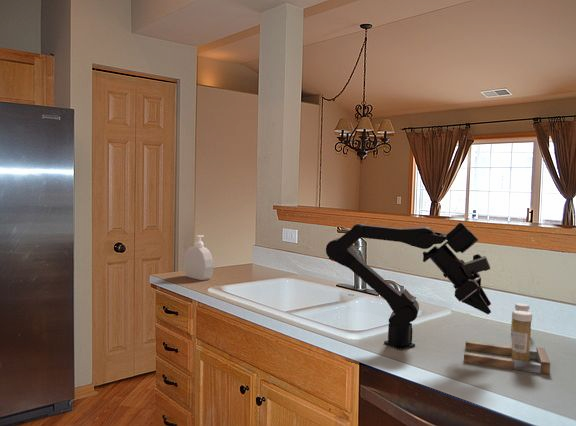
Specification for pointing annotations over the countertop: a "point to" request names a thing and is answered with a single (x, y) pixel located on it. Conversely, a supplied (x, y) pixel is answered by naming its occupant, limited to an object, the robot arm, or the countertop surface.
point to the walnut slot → (539, 354)
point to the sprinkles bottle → (521, 335)
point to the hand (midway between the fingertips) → (489, 309)
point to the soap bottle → (198, 261)
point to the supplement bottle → (519, 308)
